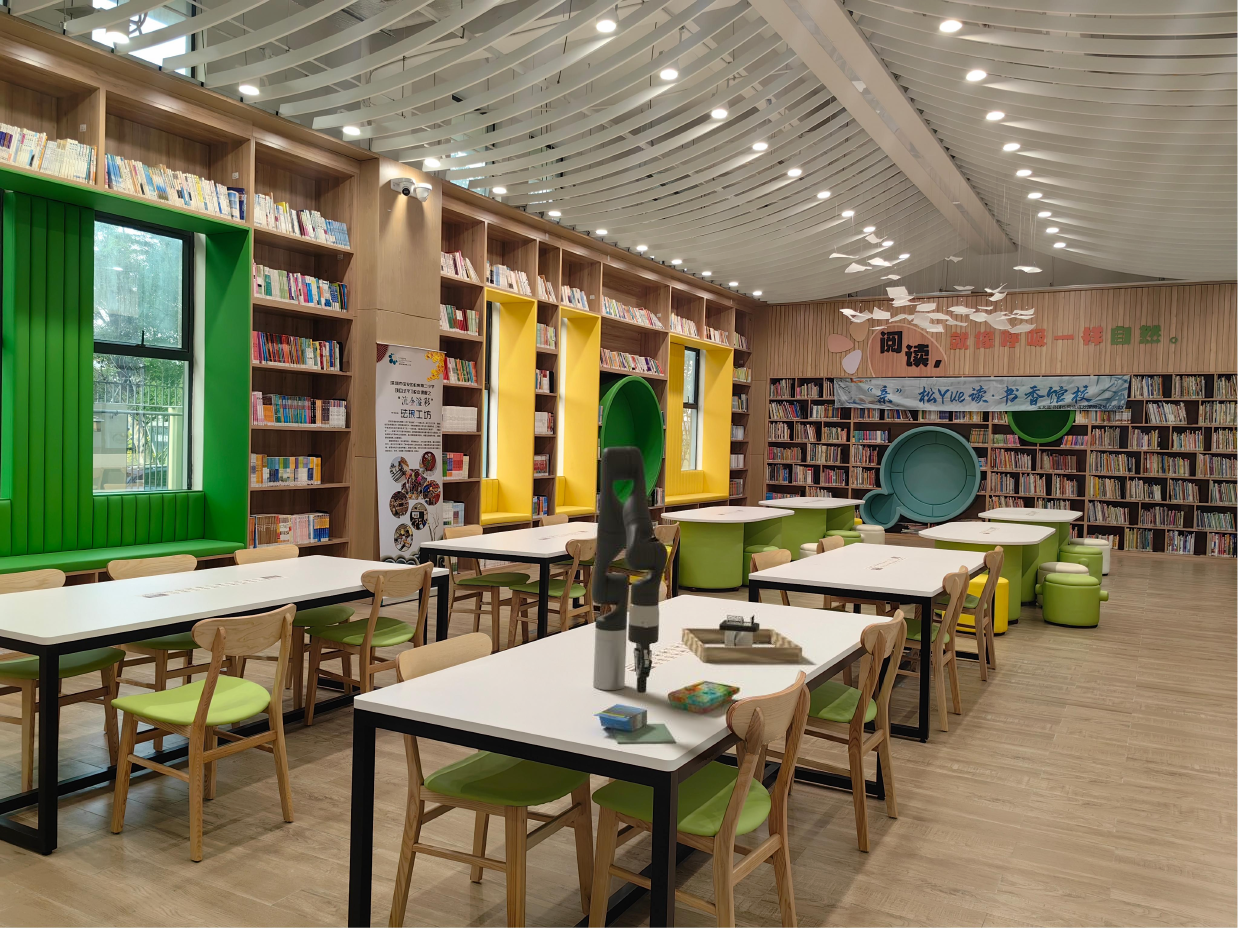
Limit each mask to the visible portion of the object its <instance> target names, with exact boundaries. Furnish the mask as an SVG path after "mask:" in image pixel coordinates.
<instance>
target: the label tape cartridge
mask: <svg viewBox="0 0 1238 928" xmlns="http://www.w3.org/2000/svg"><path fill="white" fill-rule="evenodd" d="M593 716H596V717H598V718H599V721H600V725H601V726H600V727H605V728H610V729H611V728H614V729H620V730H625V731H630V732H633V731H635V730H636V729H638V728H640V727H642V726H644V725H646V724H648V710H647V709H645V708H641V707H635V706H630V705H624V704H620V703H616V704H615V705H613V706H611V707H608V708H607V709H605V710H602V711H600V712H598V713H595V714H593Z"/></svg>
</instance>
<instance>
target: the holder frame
mask: <svg viewBox="0 0 1238 928" xmlns="http://www.w3.org/2000/svg"><path fill="white" fill-rule="evenodd" d="M681 642H683V643H684V644H683V645H684V646H685V647H686V648H687V649H689V651H691V653H693V655H695V656H696V658H697V659H699V661H701V662H702V663H802V660H803V647H802V646H800V645H798V644H797V643H796V642H794V641H792V640H790V639H789V638H788V637H786V636H784V635H783V634H781V633H780V632H778V631H776V630H775V629H773V628H759V630H758V631H757V632H753V642H770V643H772V644H773V645H775V646H776V647H775V646H773V645H772V644H771V645H772V646H752V647H724V646H707V645H705V643H702V642H725V631H724V630H719V627H717V628H707V627H706V628H703V627H697V628H695V627H692V628H691V627H687V628H686V627H684V628H683V627H681ZM770 643H769V644H770Z"/></svg>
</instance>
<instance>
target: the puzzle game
mask: <svg viewBox="0 0 1238 928" xmlns="http://www.w3.org/2000/svg"><path fill="white" fill-rule="evenodd" d="M740 691H741V687H739V686H735V685H729V684H724V683H719V682H714V681H708V680H701V681H698V682H696V683H692V684H689V685H687V686H684V687H682V688H679V689H676V690H672V691H670V692H668V693H667V700H668V702H669V703H670V704H671V706H672V707H673V708H676V709H680V710H685V711H689V712H695V713H700V714H705V713H708V712H710V711H713V710H714V709H717V708H718V707H721V706H723V705H725V704H728V703H729V702H731V700H732V699H733V697H734V696H735V695H737V694H739V693H740Z"/></svg>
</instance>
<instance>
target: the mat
mask: <svg viewBox="0 0 1238 928" xmlns="http://www.w3.org/2000/svg"><path fill="white" fill-rule="evenodd" d="M610 729H611V732H612V735H613V737H614V738H615V740H616V742H617V744H620V745H621V744H676V743H677V740H676V739H675V738H674V736H673V735H672V733H671V732H670V730H669V729H668V726H667V725H666V724H665V723H647V724H646V725H644V726H642V727H640V728H638V729H636V730H635V731H633V732H630V731H625V730H620V729H614V728H610Z"/></svg>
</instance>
